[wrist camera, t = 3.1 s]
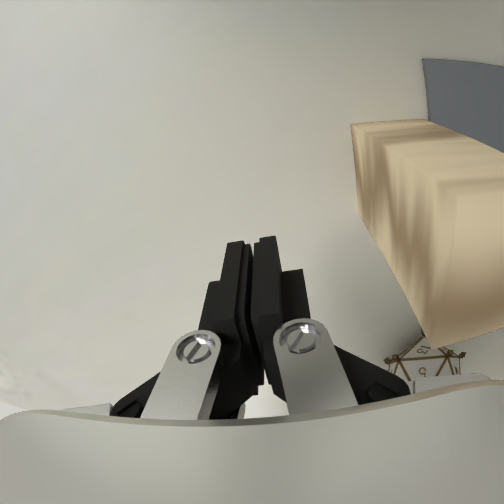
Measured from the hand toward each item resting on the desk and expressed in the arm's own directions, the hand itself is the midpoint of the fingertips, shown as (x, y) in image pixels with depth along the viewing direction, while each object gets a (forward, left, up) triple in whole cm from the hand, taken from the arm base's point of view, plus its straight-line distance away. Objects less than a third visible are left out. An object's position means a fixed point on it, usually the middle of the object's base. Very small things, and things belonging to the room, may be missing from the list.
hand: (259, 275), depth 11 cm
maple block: (0, +8, -10) cm, 13 cm away
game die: (+18, +11, -10) cm, 24 cm away
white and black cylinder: (+16, -2, -10) cm, 19 cm away
